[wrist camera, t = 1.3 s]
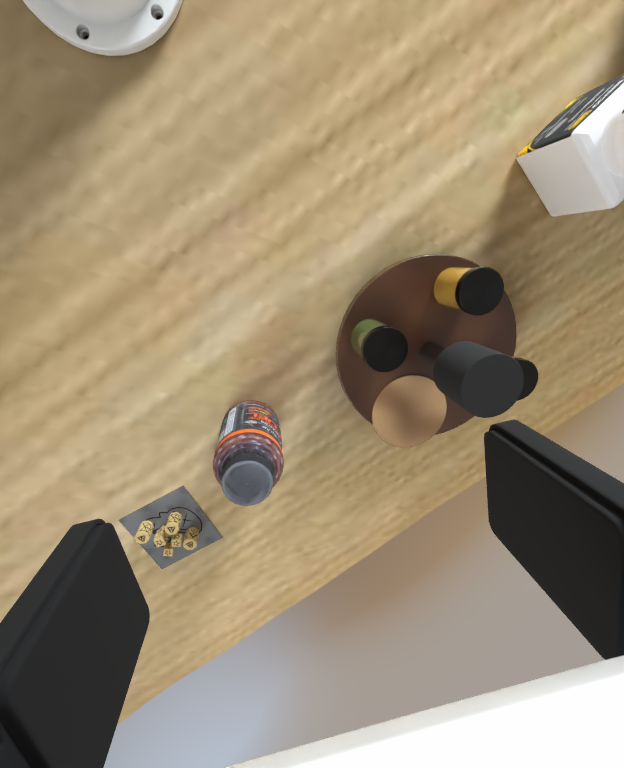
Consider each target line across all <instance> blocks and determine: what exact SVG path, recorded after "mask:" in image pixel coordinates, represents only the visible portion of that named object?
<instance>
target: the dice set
mask: <svg viewBox="0 0 624 768" xmlns="http://www.w3.org/2000/svg"><path fill="white" fill-rule="evenodd" d="M182 521H183V517H182V515H181V514H180V513H179V512H172V513H170V514H169V516H168V517H167V519H166V522H165V525H163V526H162V527H161V528H159V529H158V530H157V531H156V533H155V535H154V538H153V540H152V541H153V542H154V544H155V546H156V547H157V548H160V547H163V546H164V548H163V553H162V556H163V557H170V558H172V557H173V555H174V552H175V548H181V547H183V548H184V549H185V550H187V551H193V550H194V549H196V548H197V547H198V542H199V538H200V530H199V529H197V528H195V527H190V528H188V529H187V530H186V531H185V534H184V538H183V534H182V533H178V532H179V531H180V528H181V525H182ZM153 531H154V524H153V523H152V522H150V521H149V520H147V521H142V522H141V523H140V524H139V526H138V528H137V530H136V532H135V535H134V538H135V541H136V542H138V543H139V544H140V545H143V544H147V543H148V541H149V540H150V538H151V536H152V533H153ZM169 536H171V539H170V543H169V542H168V539H169V538H168V537H169Z"/></svg>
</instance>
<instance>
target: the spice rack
mask: <svg viewBox="0 0 624 768" xmlns="http://www.w3.org/2000/svg"><path fill="white" fill-rule="evenodd" d="M515 346H516V322H515V316H514V312H513V309H512V305H511V303H510V300H509V298H508V296H507V294H506V292H505V291H504V284H503V280H502V277H501V276H500V274H499V273H498V272H497V271H496V270H494V269H492V268H489V267H481V266H479V265H478V264H476V263H474V262H472V261H469V260H467V259H464V258H461V257H457V256H452V255H441V254H432V255H420V256H416V257H411V258H407V259H405V260H402V261H399V262H397V263H395V264H393V265H391V266H389V267H387V268H385V269H384V270H382V271H381V272H380V273H378V274H377V275H375V276H374V277H373V278H372V279H371V280H370V281H369V282H368V283H367V284H365V285H364V287H363V288H362V289H361V290H360V291H359V292H358V294H357V295H356V296H355V298H354V299H353V301H352V302H351V304H350V305H349V307H348V309H347V311H346V313H345V315H344V317H343V320H342V323H341V326H340V329H339V333H338V338H337V345H336V366H337V371H338V376H339V379H340V382H341V385H342V388H343V390H344V392H345V394H346V396H347V397H348V399H349V400H350V402H351V403H352V405H353V406H354V408H355V409H356V410H357V411H358V412H359V413H360V414H361V415H362V416H363V417H364V418H365V419H366V420H367V421H369V422H370V423H371V424H373V426H374V429H375V431H376V433H377V434H378V435H379V437H380V438H381V439H382V440H383V441H385V442H386V443H388V444H390V445H393V446H396V447H413V446H417V445H419V444H422V443H424V442H426V441H427V440H429V439H430V438H431V437H432V436H434V435H436V434H439V433H443V432H446V431H449V430H451V429H454V428H456V427H458V426H460V425H462V424H463V423H465V422H467V421H468V420H470V419H471V418H473V417H474V416H478V417H483V418H488V417H494V416H497V415H500V414H502V413H504V412H505V411H507V410H508V409H509V408H510V407H511V406H512V405H513V404H514V403H515V402H516V401H518V400H521V399H523V398H525V397H527V396H528V395H529V394H530V393H531V392H532V391H533V390H534V388H535V386H536V384H537V381H538V371H537V368H536V367H535V365H534V364H533V363H532V362H530V361H528V360H525V359H522V358H516V357H514V352H515Z"/></svg>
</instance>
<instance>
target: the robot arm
mask: <svg viewBox="0 0 624 768" xmlns="http://www.w3.org/2000/svg"><path fill="white" fill-rule="evenodd" d="M23 1H24V3H25V4H26V5H27V7H28V8H29V9H30V10H31V11H32V12H33V13H34V14H35V15H36V16H37V18H38V19H39V20H40V21H41V22H42V23H43V24H45V25H46V26H47V27H48V28H49V29H50V30H52V31H53V32H54V33H55V34H56V35H57V36H59V37H61V38H62V39H64V40H65V41H67V42H69V43H70V44H72V45H74V46H76V47H78V48H81V49H83V50H86V51H88V52H91V53H96V54H101V55H106V56H122V55H128V54H132V53H136V52H139V51H142V50H144V49H145V48H147V47H149V46H151V45H153V44H154V43H155V42H156V41H158V40H159V39H160V38H161V37H162V36H163V35H164V34H165V33H166V32H167V31H168V29H169V28H170V26H171V25H172V23H173V22H174V20H175V19H176V17H177V14H178V12H179V10H180V7H181V5H182V2H183V0H23ZM158 16H161V17H162V18H161V19H160V20H156V19H157V17H158ZM86 35H89V38H87V39H86V40H85V36H86ZM484 446H485V463H486V479H487V480H486V481H487V498H488V512H489V513H488V514H489V522H490V526H491V529H492V530H493V532H494V534H495V535H496V536H497V537H498V539H499V540H500V541H501V542H502V543H503V544H504V545H505V547H506V548H507V549H508V550H509V551H510V552H511V554H512V555H513V556H514V557H515V558H516V559H517V560H518V561H519V563H520V564H521V565H522V566H523V567H524V568H525V570H526V571H527V572H528V573H529V574H530V575H531V576H532V578H533V579H534V580H535V581H536V582H537V583H538V584H539V586H540V587H541V588H542V589H543V590H544V591H545V592H546V594H547V595H548V596H549V597H550V598H551V599H552V600H553V601H554V603H555V604H556V605H557V606H558V607H559V608H560V610H561V611H562V612H563V613H564V614H565V615H566V616H567V618H568V619H569V620H570V621H571V622H572V623H573V624H574V626H576V628H577V629H578V630H579V631H580V632H581V634H582V635H583V636H584V637H585V638H586V639H587V640H588V642H589V643H590V644H591V645H592V646H593V647H594V648H595V650H596V651H597V652H598V653H599V654H600V655H601V656H602V657H603V658H604V659H605V660H603V661H600V662H596V663H592V664H588V665H585V666H581V667H578V668H574V669H570V670H567V671H563V672H560V673H556V674H553V675H549V676H545V677H542V678H538V679H534V680H531V681H528V682H524V683H520V684H517V685H513V686H509V687H506V688H502V689H499V690H495V691H491V692H488V693H484V694H480V695H477V696H473V697H470V698H466V699H463V700H459V701H456V702H452V703H448V704H445V705H441V706H438V707H434V708H430V709H427V710H423V711H420V712H417V713H413V714H409V715H406V716H402V717H399V718H395V719H392V720H388V721H385V722H382V723H378V724H374V725H371V726H367V727H364V728H360V729H357V730H353V731H350V732H346V733H343V734H339V735H336V736H332V737H329V738H326V739H322V740H318V741H315V742H312V743H308V744H304V745H301V746H297V747H294V748H290V749H287V750H283V751H280V752H276V753H273V754H269V755H266V756H262V757H259V758H255V759H252V760H248V761H245V762H242V763H238V764H235V765H231V766H228V767H224V768H624V483H622V482H620V481H618V480H617V479H615V478H613V477H612V476H610V475H608V474H606V473H605V472H603V471H602V470H600V469H598V468H596V467H595V466H593V465H592V464H590V463H588V462H587V461H585V460H583V459H581V458H580V457H578V456H576V455H575V454H573V453H571V452H570V451H568V450H566V449H565V448H563V447H561V446H560V445H558V444H556V443H554V442H553V441H551V440H550V439H548V438H546V437H545V436H543V435H541V434H539V433H538V432H536V431H534V430H533V429H531V428H529V427H528V426H526V425H524V424H523V423H521V422H519V421H517V420H510V421H505V422H501V423H497V424H493V425H491V426H490V429H489V431H488V432H486V433H485V435H484ZM148 624H149V608H148V605H147V603H146V601H145V598H144V596H143V594H142V591H141V589H140V587H139V584H138V582H137V580H136V577H135V575H134V573H133V570H132V568H131V566H130V563H129V561H128V559H127V556H126V554H125V552H124V549H123V547H122V545H121V542H120V540H119V538H118V535H117V533H116V531H115V528H114V527H113V525H112V524H111V523H105V522H104V521H103V520H102V519H96V520H92V521H88V522H83V523H79V524H75V525H73V526H72V527H71V528H70V529H69V530H68V532H67V533H66V535H65V536H64V537H63V539H62V540H61V541H60V543H59V544H58V545H57V547H56V548H55V550H54V551H53V552H52V554H51V555H50V556H49V558H48V559H47V560H46V562H45V563H44V564H43V566H42V567H41V569H40V570H39V571H38V573H37V574H36V575H35V577H34V578H33V579H32V581H31V582H30V583H29V585H28V586H27V588H26V589H25V590H24V592H23V593H22V594H21V596H20V597H19V598H18V600H17V601H16V603H15V604H14V605H13V607H12V608H11V609H10V611H9V612H8V613H7V615H6V616H5V617H4V619H3V620H2V622H1V623H0V768H103V767H104V764H105V761H106V757H107V754H108V751H109V748H110V745H111V742H112V738H113V735H114V732H115V729H116V726H117V723H118V719H119V716H120V713H121V710H122V707H123V704H124V701H125V697H126V694H127V691H128V688H129V685H130V682H131V678H132V675H133V672H134V669H135V666H136V663H137V660H138V656H139V653H140V650H141V647H142V644H143V641H144V637H145V634H146V631H147V628H148Z"/></svg>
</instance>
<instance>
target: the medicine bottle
mask: <svg viewBox="0 0 624 768" xmlns="http://www.w3.org/2000/svg"><path fill="white" fill-rule="evenodd" d="M516 159H517V161H518V163H519V164H520V166H521V168H522V169H523V171H524V173H525V174H526V176H527V178H528V179H529V181H530V182H531V184H532V186H533V187H534V189H535V191H536V192H537V194H538V196H539V197H540V199H541V201H542V202H543V204H544V206H545V207H546V209H547V211H548V212H549V214H550V215H551V216H553V217H555V216H562V215H569V214H576V213H583V212H590V211H597V210H604V209H611V208H614V207H616V206H617V205H618V204H619V203H620V202H621V201H622V200H623V199H624V74H623V75H621V76H619V77H617V78H615V79H613V80H611V81H609V82H607V83H605V84H603V85H601V86H599V87H597V88H595V89H593V90H591V91H589V92H587V93H585V94H583V95H581V96H579V97H577V98H575V99H574V100H573V101H572V102H571V103H570V104H569V105H568V106H567V107H566V108H565V109H564V110H563V111H562V112H561V113H560V114H559V115H558V116H557V117H555V118H554V119H553V120H552V121H551V122H550V123H549V124H548V125H547V126H546V127H545V128H544V129H543V130H542V131H541V132H540V133H539V134H538V135H537V136H536V137H535V138H534V139H533V140H532V141H531V142H530V143H529V144H527V145H526V146H525V147H524V148H523V149H522V150H521V151H520V152H519V153H518V154H517V156H516Z"/></svg>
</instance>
